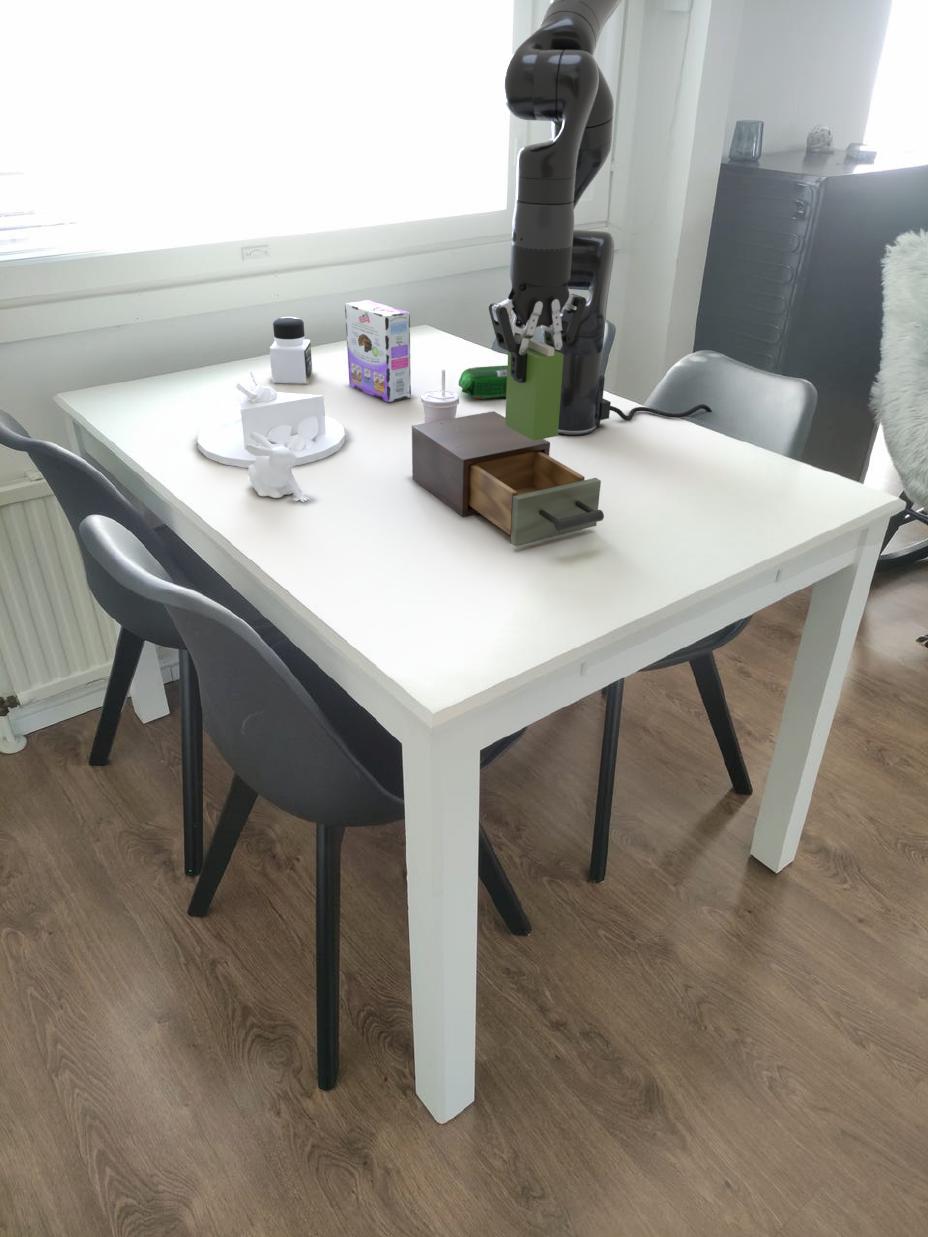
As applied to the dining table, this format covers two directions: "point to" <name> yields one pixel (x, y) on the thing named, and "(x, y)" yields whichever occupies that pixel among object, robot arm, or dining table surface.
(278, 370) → the medicine bottle
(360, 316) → the candy box
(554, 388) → the green rectangular block
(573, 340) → the robot arm
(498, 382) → the snack package
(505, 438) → the cabinet
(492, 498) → the drawer
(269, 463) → the rabbit figurine
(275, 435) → the dish
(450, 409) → the smoothie
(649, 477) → the dining table surface
